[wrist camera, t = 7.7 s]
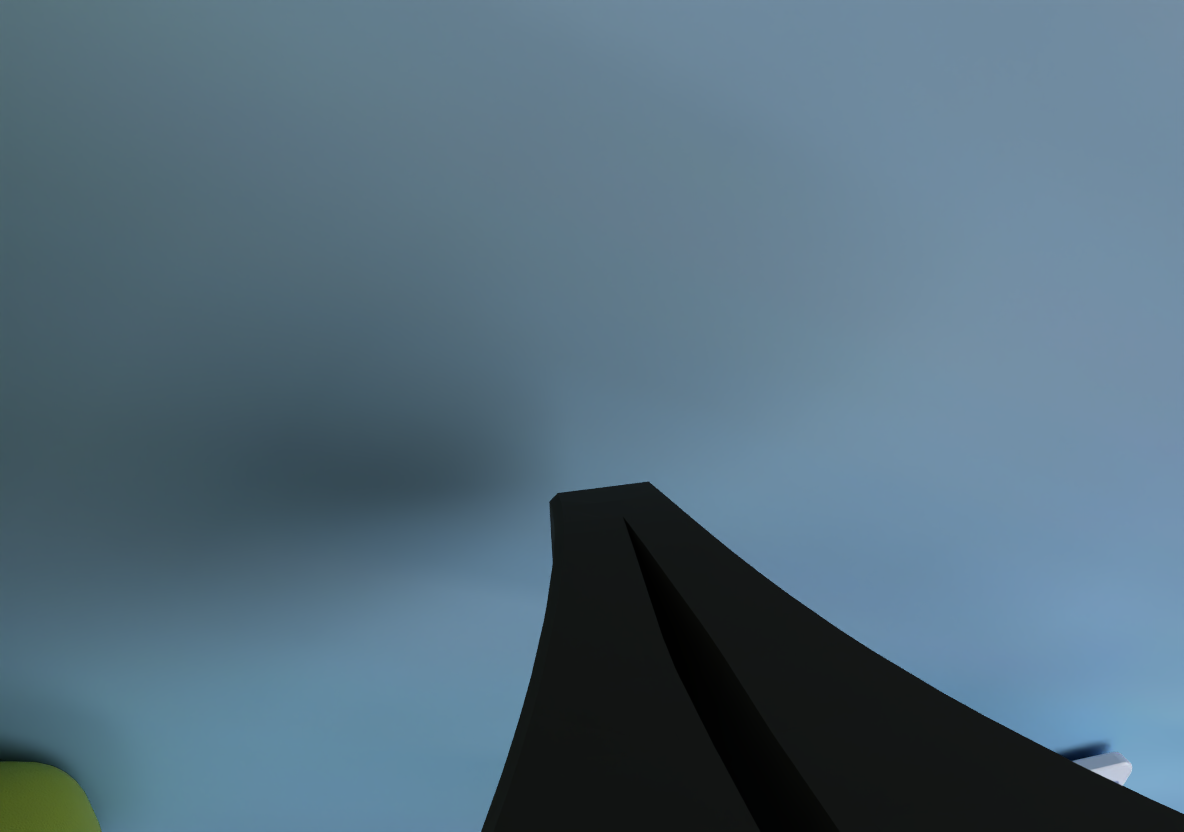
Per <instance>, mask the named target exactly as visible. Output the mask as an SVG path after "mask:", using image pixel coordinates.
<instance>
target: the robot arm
mask: <svg viewBox="0 0 1184 832" xmlns="http://www.w3.org/2000/svg"><path fill="white" fill-rule="evenodd" d="M549 503H550V521H551V539H552V557H553V566H552V573H551V580H550V587H549V594H548V601H547V607H546V613H545V618H544V623H543V627H542V631H541V636H540V640H539V645H538V649H537V653H536V658H535V662H534V666H533V671H532V675H531V679H530V683H529V686H528V690H527V693H526V697H525V701H524V704H523V708H522V711H521V715H520V718H519V721H518V725H517V728H516V731H515V734H514V738H513V741H512V744H511V747H510V750H509V753H508V757H507V760H506V763H505V766H504V769H503V772H502V775H501V778H500V780H499V783H498V786H497V789H496V792H495V794H494V797H493V800H492V803H491V806H490V808H489V811H488V814H487V817H486V820H485V822H484V825H483V828H482V831H481V832H1184V814H1182V813H1180V812H1178V811H1176V810H1173V809H1171V808H1169V807H1167V806H1165V805H1162V804H1160V803H1158V802H1156V801H1154V800H1151V799H1149V798H1147V797H1145V796H1143V795H1141V794H1139V793H1137V792H1135V791H1133V790H1130V789H1128V788H1126V787H1124V786H1123V785H1124V783H1125V781H1126V780H1127V778H1128V776H1129V775H1130V773H1131V771H1132V765H1131V763H1130V762H1129V761H1128V760H1127V759H1126V758H1125V757H1124V756H1123V755H1122V754H1121V753H1118V752H1109V753H1104V754H1100V755H1096V756H1091V757H1087V758H1082V759H1078V760H1074V761H1070V760H1069V759H1067V758H1065V757H1063V756H1061V755H1059V754H1057V753H1055V752H1053V751H1051V750H1049V749H1047V748H1045V747H1043V746H1042V745H1040V744H1038V743H1036V742H1034V741H1032V740H1030V739H1028V738H1026V737H1024V736H1022V735H1020V734H1018V733H1016V732H1015V731H1013V730H1011V729H1009V728H1007V727H1005V726H1003V725H1001V724H999V723H997V722H995V721H993V720H991V719H990V718H988V717H986V716H984V715H982V714H980V713H978V712H977V711H975V710H973V709H971V708H969V707H968V706H966V705H964V704H962V703H960V702H959V701H957V700H955V699H953V698H951V697H949V696H948V695H946V694H944V693H942V692H941V691H939V690H937V689H936V688H934V687H932V686H930V685H929V684H927V683H925V682H924V681H922V680H920V679H919V678H917V677H915V676H914V675H912V674H910V673H909V672H907V671H905V670H904V669H902V668H900V667H899V666H897V665H895V664H894V663H892V662H890V661H889V660H887V659H885V658H884V657H882V656H880V655H879V654H877V653H875V652H874V651H872V650H871V649H869V648H867V647H866V646H864V645H863V644H861V643H860V642H858V641H856V640H855V639H853V638H852V637H850V636H849V635H847V634H846V633H844V632H843V631H841V630H840V629H838V628H837V627H835V626H834V625H832V624H831V623H829V622H828V621H826V620H825V619H824V618H822V617H821V616H819V615H818V614H816V613H815V612H813V611H812V610H811V609H809V608H808V607H806V606H805V605H803V604H802V603H801V602H799V601H798V600H796V599H795V598H793V597H792V596H790V595H789V594H788V593H786V592H785V591H784V590H782V589H781V588H780V587H778V586H777V585H775V584H774V583H773V582H771V581H770V580H769V579H767V578H766V577H765V576H763V575H762V574H761V573H759V572H758V571H757V570H755V569H754V568H753V567H752V566H750V565H749V564H748V563H746V562H745V561H744V560H743V559H741V558H740V557H739V556H738V555H736V554H735V553H734V552H732V551H731V550H730V549H729V548H727V547H726V546H725V545H724V544H722V543H721V542H720V541H719V540H718V539H716V538H715V537H714V536H713V535H712V534H710V533H709V532H708V531H707V530H706V529H704V528H703V527H702V526H701V525H700V524H698V523H697V522H696V521H695V520H694V519H692V518H691V517H690V516H689V515H688V514H686V513H685V512H684V511H683V510H682V509H681V508H679V507H678V506H677V505H676V504H675V503H673V502H672V501H671V500H670V499H669V498H668V497H666V496H665V495H664V494H663V493H662V492H660V491H659V490H658V489H657V488H656V487H654V486H653V485H652V484H651V483H650V482H642V483H634V484H626V485H618V486H610V487H603V488H595V489H587V490H579V491H571V492H563V493H557V495H556V496H555V497H554V498H553V499H552V500H551V501H550V502H549Z"/></svg>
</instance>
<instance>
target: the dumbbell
mask: <svg viewBox="0 0 1184 832" xmlns="http://www.w3.org/2000/svg"><path fill="white" fill-rule="evenodd" d="M0 832H102V831H101V828H100V825H99V822H98V820H97V818H96V815H95V813H94V811H93V809H92V807H91V804H90V802H89V800H88V798H87V796H86V794H85V792H84V791H83V789H82V788H81V787H80V786H79V784H78V783H77V782H76V781H75V780H74V779H73V778H72V777H71V776H69V775H68V774H67V773H66V772H64V771H62V770H60V769H58V768H56V767H54V766H51V765H46V764H42V763H38V762H18V761H1V762H0Z"/></svg>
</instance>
